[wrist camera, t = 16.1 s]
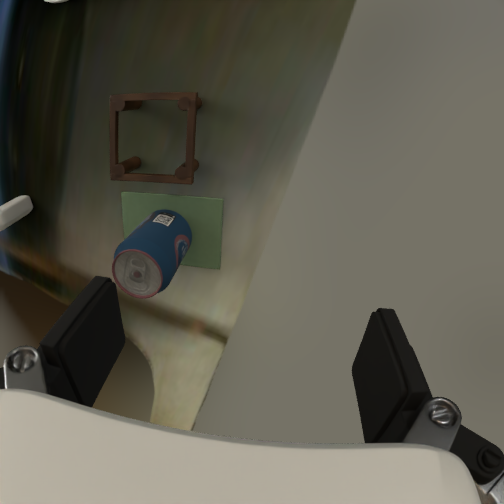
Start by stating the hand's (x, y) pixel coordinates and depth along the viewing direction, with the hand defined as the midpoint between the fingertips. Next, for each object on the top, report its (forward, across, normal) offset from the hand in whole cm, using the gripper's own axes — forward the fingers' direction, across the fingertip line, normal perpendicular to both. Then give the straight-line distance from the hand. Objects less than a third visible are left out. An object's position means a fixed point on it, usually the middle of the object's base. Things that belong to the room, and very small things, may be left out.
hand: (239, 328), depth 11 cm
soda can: (+30, +12, +10) cm, 34 cm away
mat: (+30, +12, +10) cm, 34 cm away
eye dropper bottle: (+31, +39, +8) cm, 50 cm away
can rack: (+30, +13, -3) cm, 33 cm away
